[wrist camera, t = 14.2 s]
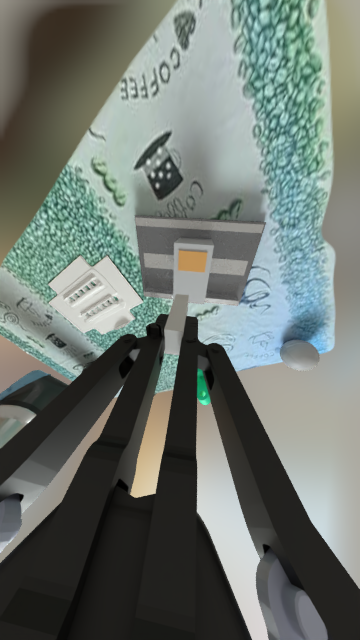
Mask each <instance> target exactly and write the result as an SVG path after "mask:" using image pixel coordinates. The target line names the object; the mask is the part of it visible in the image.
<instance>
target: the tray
mask: <svg viewBox="0 0 360 640" xmlns="http://www.w3.org/2000/svg"><path fill="white" fill-rule="evenodd" d="M92 281H93V282H94V283H95V284H96V286H93V285H92V284H91V282H92ZM48 285H49V286H50V287H51V288H52V289H53V290H54V291H55V292H56V293H57V296H56V297H55V298H53V299H52V300H51V301H50V302H49V304H50V305H51V306H52V307H54V308H55V309H56V310H57V311H58V312H59V313H61V314H62V315H63V316H64V317H65V318H66V319H67V320H69V321H70V322H71V323H72V324H73V325H74V326H76V327H77V328H78V329H79V330H80V331H81V332H83V333H85V332H87V331H89V330H91V329H93V328H94V329H96V330H98V331H99V332H100V333H101V334H102V335H103V334H105V333H107V332H109V331H111V330H113V329H114V330H115V329H116V330H117V329H120V328H122V327H125V326H126V325H127V324H128V323H129V322H130V321H132V320H134V319H135V317H134V316H133V315H132V313H131V312H130V309H131V308H133V307H135V306H137V305H139V304H141V303H143V301H142V300H141V298H140V297H139V296H138V294H137V293H136V292H135V291H134V289H133V288H132V287H131V285H130V284H129V283H128V282H127V280H126V279H125V278H124V276H123V275H122V274H121V273H120V271H119V270H118V269H117V268H116V266H115V265H114V264H113V262H112V261H111V260H110V259H109V257H108V256H106V257H104V258H103V259H102V260H101V261H99V262H98V263H97V264H96V265H95V266H90V265H89V264H88V263H87V261H86V260H85V259H84V258H83V257H82V256H81V255H80V256H79V257H78V258H77V259H76V260H74V261H73V262H72V263H71V264H70V265H69V266H68V267H67V268H66V269H65V270H63V271H62V272H61V273H60V274H59V275H58V276H57V277H56V278H55V279H54V280H52V281H51V282H50V283H49V284H48ZM86 285H87V286H88V287H89V288H90V290H88V289H87V288H86V287H85V286H86ZM81 289H82V290H83V291H84V292H85V293H84V294H83V293H82V292H81V291H80V290H81ZM76 293H77V294H78V295H79V296H80V297H78V296H77V295H75V294H76ZM114 296H116V297H117V298H118V299H119V300H117V301H116V300H115V299H114V298H113V297H114ZM70 297H72V298H73V299H74V300H75V301H73V300H72V299H71V298H70ZM68 298H70V299H68ZM107 300H109V302H110V303H112V304H110V303H109V302H108V301H107ZM99 303H100V304H99ZM103 303H104V304H103ZM102 304H103V305H104V306H107V307H104V306H103V305H102ZM97 307H98V308H97ZM99 309H101V310H99ZM92 310H93V311H92ZM94 312H96V313H94ZM87 313H88V314H89V315H91V316H89V315H88V314H87ZM86 318H87V319H86Z"/></svg>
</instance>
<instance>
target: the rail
mask: <svg viewBox="0 0 360 640" xmlns="http://www.w3.org/2000/svg"><path fill="white" fill-rule="evenodd" d="M135 221H136V229H137V238H138V247H139V255H140V264H141V273H142V281H143V290H144V296H147V297H157V298H166V299H173V276H174V242H176V241H177V240H178V239H179V238H180V237H187V238H202V239H212V242H213V244H214V248H213V254H212V260H211V267H210V273H209V279H208V285H207V291H206V297H205V303H215V304H225V305H234V306H238V303H239V302H240V300H241V297H242V294H243V291H244V288H245V285H246V282H247V279H248V276H249V273H250V270H251V267H252V264H253V261H254V258H255V255H256V252H257V248H258V245H259V242H260V239H261V236H262V233H263V230H264V227H265V224H266V222H249V221H230V220H212V219H194V218H176V217H157V216H139V215H135Z"/></svg>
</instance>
